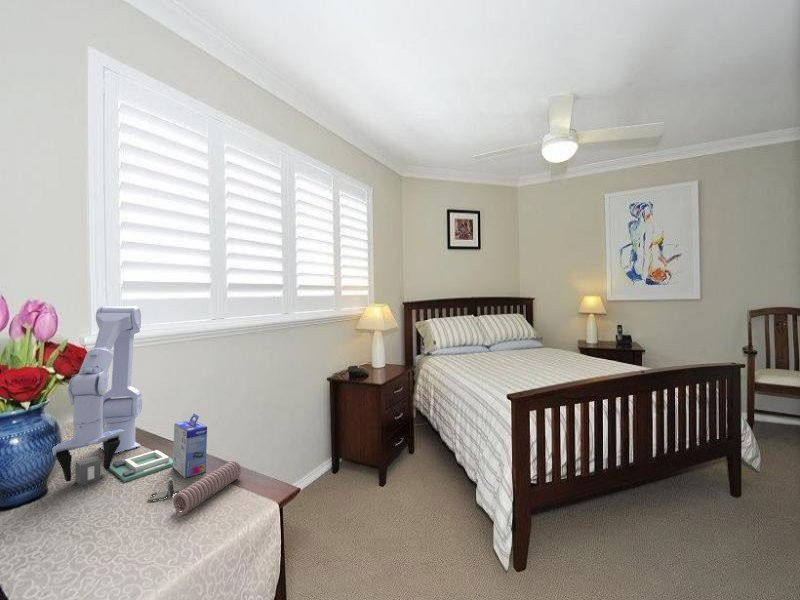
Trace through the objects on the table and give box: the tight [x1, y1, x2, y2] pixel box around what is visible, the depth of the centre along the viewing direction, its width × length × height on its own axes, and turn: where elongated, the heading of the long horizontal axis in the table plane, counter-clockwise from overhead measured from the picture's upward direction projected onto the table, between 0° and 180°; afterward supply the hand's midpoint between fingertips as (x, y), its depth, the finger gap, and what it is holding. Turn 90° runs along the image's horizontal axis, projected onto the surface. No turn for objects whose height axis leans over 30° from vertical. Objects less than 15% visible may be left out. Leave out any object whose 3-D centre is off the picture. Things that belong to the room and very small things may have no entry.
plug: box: [74, 455, 102, 486], centre depth 91 cm, size 5×4×5 cm
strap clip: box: [147, 476, 183, 502], centre depth 84 cm, size 8×3×4 cm, turn 111°
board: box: [108, 449, 173, 483], centre depth 99 cm, size 13×12×2 cm
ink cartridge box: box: [172, 413, 208, 478], centre depth 98 cm, size 10×6×14 cm, turn 49°
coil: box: [172, 460, 242, 516], centre depth 85 cm, size 5×5×18 cm
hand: (87, 474), depth 92 cm, fingers open, 7 cm apart
